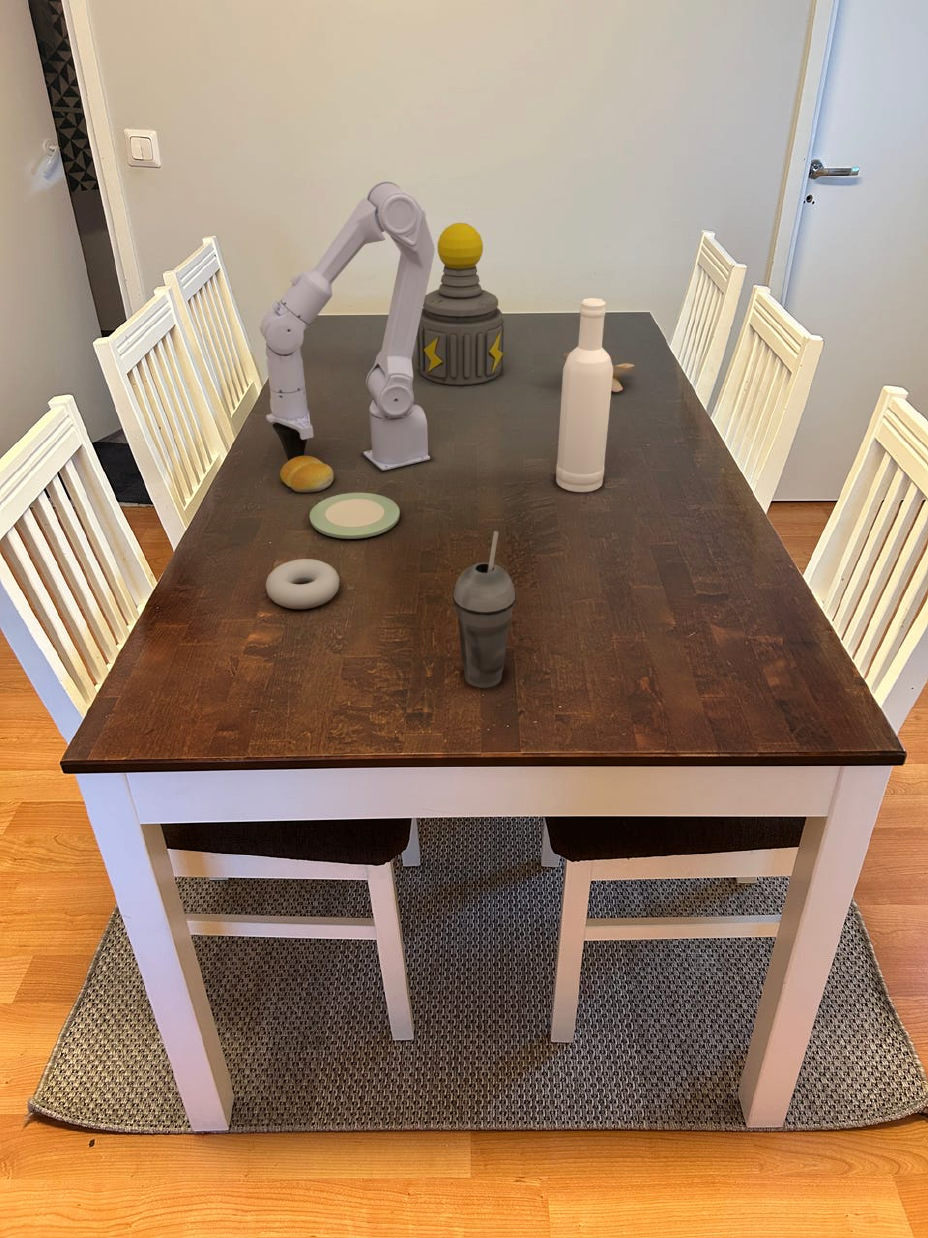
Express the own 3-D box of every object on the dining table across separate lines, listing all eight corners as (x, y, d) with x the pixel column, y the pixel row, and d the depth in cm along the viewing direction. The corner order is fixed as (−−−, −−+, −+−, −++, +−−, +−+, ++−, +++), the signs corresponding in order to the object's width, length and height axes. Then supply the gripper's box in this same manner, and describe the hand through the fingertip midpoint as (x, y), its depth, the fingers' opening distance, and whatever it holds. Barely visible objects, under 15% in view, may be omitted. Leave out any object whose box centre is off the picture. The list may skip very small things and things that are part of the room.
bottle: (612, 481, 156) (630, 300, 139) (584, 497, 152) (599, 311, 134) (574, 467, 161) (587, 290, 144) (545, 482, 156) (556, 301, 139)
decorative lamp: (451, 351, 210) (450, 208, 193) (520, 368, 201) (526, 220, 184) (398, 374, 198) (392, 225, 181) (470, 394, 189) (471, 238, 172)
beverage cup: (451, 659, 116) (449, 517, 104) (509, 656, 116) (514, 515, 105) (455, 696, 110) (454, 550, 98) (516, 693, 110) (522, 547, 99)
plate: (376, 491, 153) (376, 484, 153) (415, 527, 143) (415, 520, 143) (296, 511, 148) (295, 504, 147) (331, 550, 138) (331, 543, 137)
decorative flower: (650, 374, 193) (647, 330, 186) (627, 404, 187) (623, 359, 180) (585, 366, 200) (580, 323, 193) (561, 393, 194) (555, 350, 187)
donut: (258, 586, 130) (280, 621, 122) (254, 565, 128) (277, 599, 120) (325, 569, 134) (351, 602, 126) (323, 548, 132) (349, 580, 124)
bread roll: (302, 499, 151) (300, 476, 149) (274, 480, 157) (271, 458, 154) (344, 484, 155) (343, 462, 153) (315, 466, 161) (313, 445, 159)
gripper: (249, 377, 155) (259, 452, 162) (280, 406, 144) (289, 485, 152) (289, 369, 158) (297, 444, 165) (322, 397, 147) (329, 475, 155)
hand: (296, 463), depth 159 cm, fingers closed
